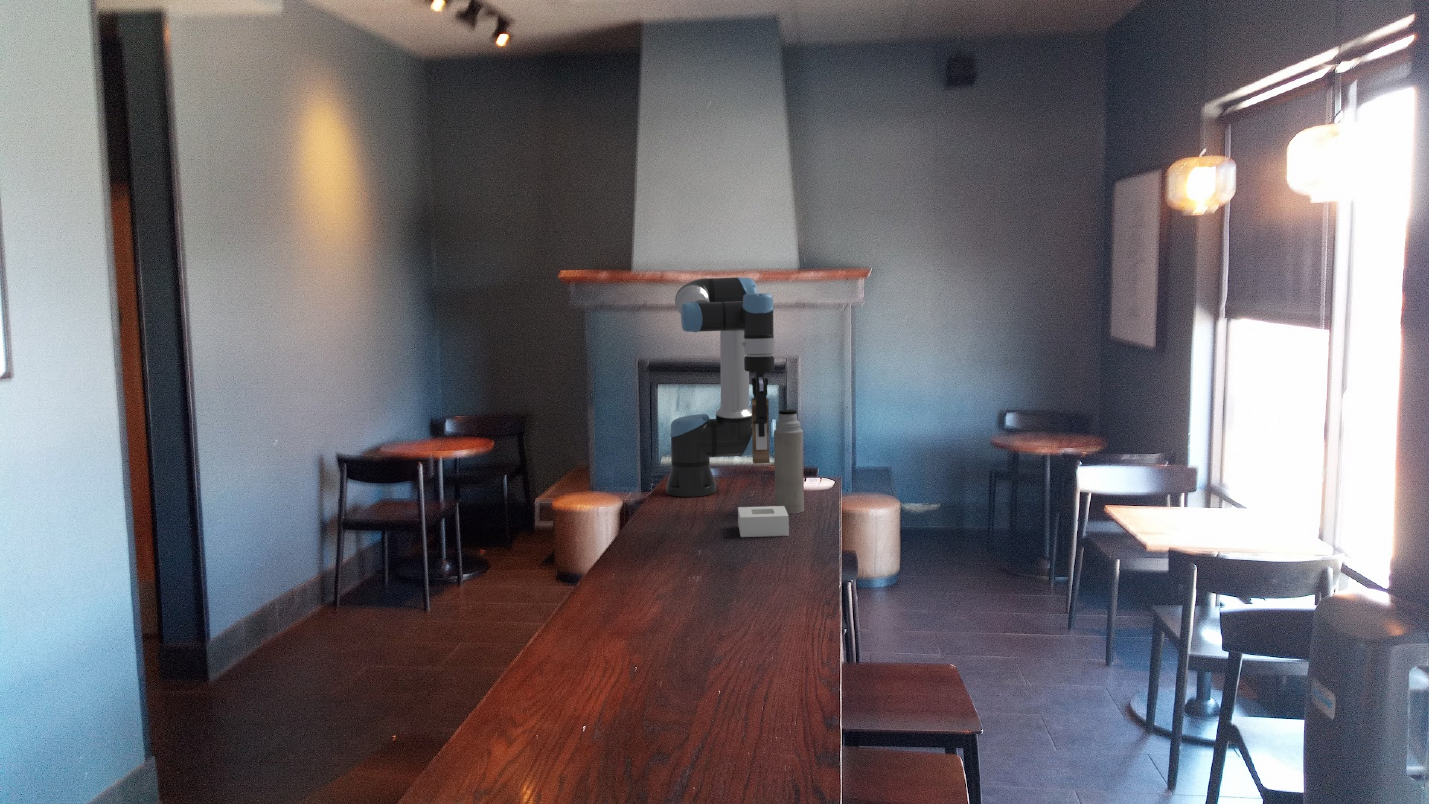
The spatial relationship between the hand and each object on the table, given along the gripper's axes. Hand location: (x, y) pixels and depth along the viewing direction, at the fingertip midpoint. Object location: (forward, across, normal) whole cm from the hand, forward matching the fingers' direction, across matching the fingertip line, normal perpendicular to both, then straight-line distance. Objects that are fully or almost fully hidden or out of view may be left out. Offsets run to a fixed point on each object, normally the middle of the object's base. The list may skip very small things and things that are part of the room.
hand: (760, 447), depth 267 cm
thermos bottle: (+21, -23, +9) cm, 33 cm away
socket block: (+21, 0, 0) cm, 21 cm away
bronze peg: (+4, 0, 0) cm, 4 cm away
